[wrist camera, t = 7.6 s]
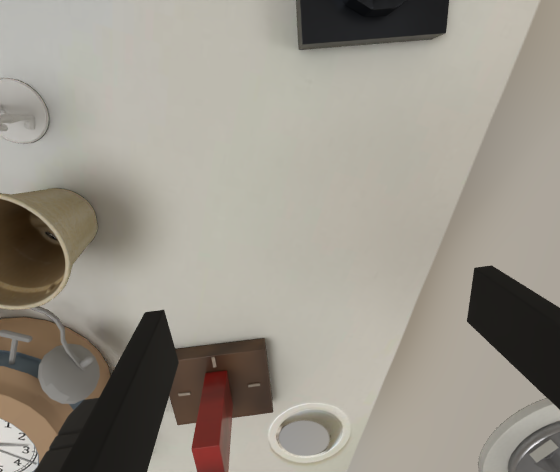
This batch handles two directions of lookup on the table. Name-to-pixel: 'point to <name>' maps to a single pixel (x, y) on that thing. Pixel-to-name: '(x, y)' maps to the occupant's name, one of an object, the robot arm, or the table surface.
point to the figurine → (21, 112)
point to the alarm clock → (41, 385)
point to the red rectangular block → (213, 424)
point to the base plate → (241, 374)
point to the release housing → (368, 21)
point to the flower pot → (40, 244)
